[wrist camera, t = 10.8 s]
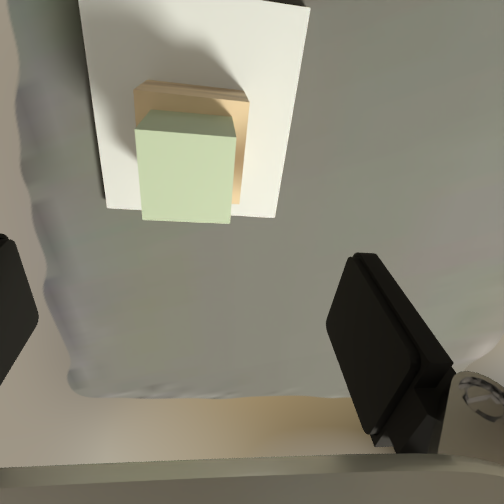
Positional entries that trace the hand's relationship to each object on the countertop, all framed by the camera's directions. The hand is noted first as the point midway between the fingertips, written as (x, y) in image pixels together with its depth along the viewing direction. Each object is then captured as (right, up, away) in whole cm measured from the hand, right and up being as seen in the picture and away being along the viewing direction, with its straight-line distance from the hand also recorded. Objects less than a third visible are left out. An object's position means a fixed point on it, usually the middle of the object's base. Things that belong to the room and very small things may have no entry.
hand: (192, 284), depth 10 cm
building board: (-3, +12, +17) cm, 20 cm away
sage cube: (-2, +8, +12) cm, 14 cm away
